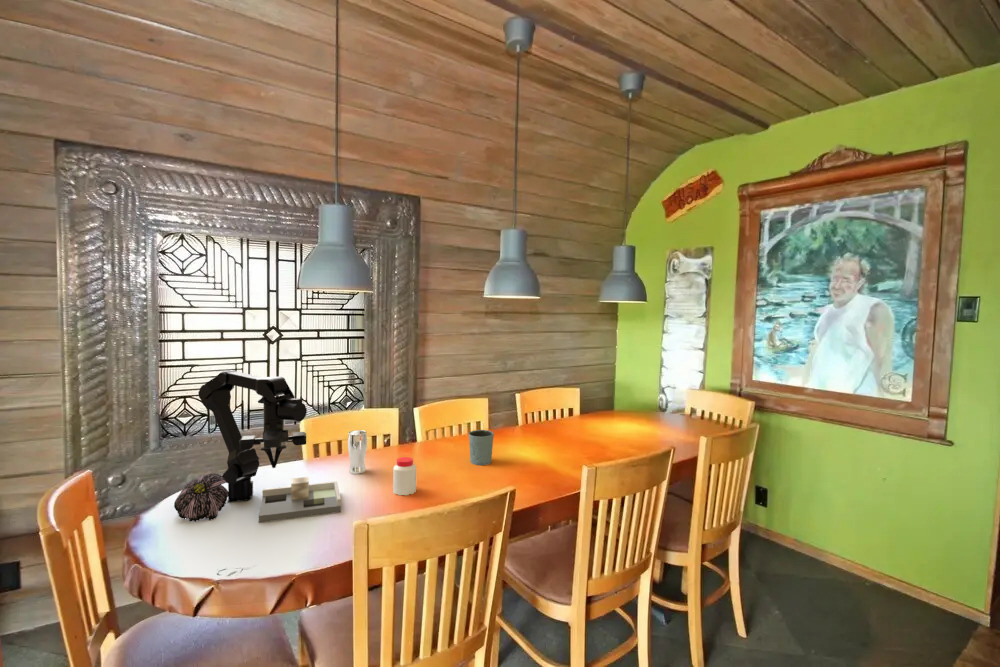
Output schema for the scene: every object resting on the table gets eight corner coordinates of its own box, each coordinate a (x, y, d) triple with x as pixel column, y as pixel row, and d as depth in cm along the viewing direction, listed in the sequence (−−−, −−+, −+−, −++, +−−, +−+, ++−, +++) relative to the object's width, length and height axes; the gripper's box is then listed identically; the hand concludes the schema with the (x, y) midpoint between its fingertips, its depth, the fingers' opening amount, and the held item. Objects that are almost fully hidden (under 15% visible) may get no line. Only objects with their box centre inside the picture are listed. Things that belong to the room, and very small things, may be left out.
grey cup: (494, 458, 205) (495, 430, 204) (491, 466, 195) (492, 437, 194) (470, 457, 206) (470, 429, 205) (466, 465, 196) (466, 435, 195)
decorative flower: (159, 491, 139) (198, 460, 153) (159, 522, 143) (197, 489, 157) (206, 508, 138) (241, 475, 152) (205, 538, 142) (239, 504, 156)
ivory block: (291, 499, 154) (291, 484, 153) (291, 493, 158) (291, 478, 158) (308, 497, 156) (308, 482, 155) (308, 491, 160) (308, 476, 160)
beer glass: (347, 475, 182) (347, 435, 181) (348, 468, 189) (348, 430, 188) (366, 473, 184) (367, 434, 183) (366, 467, 191) (367, 429, 190)
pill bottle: (413, 485, 173) (414, 455, 172) (418, 494, 166) (418, 461, 165) (391, 488, 170) (391, 457, 170) (394, 496, 163) (395, 464, 162)
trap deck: (258, 522, 142) (258, 509, 142) (262, 501, 157) (262, 489, 157) (340, 512, 150) (340, 499, 150) (337, 492, 165) (337, 481, 165)
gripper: (236, 426, 142) (237, 479, 143) (306, 422, 149) (306, 472, 150) (241, 417, 152) (241, 467, 153) (306, 414, 159) (306, 461, 160)
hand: (274, 467), depth 154 cm, fingers closed
